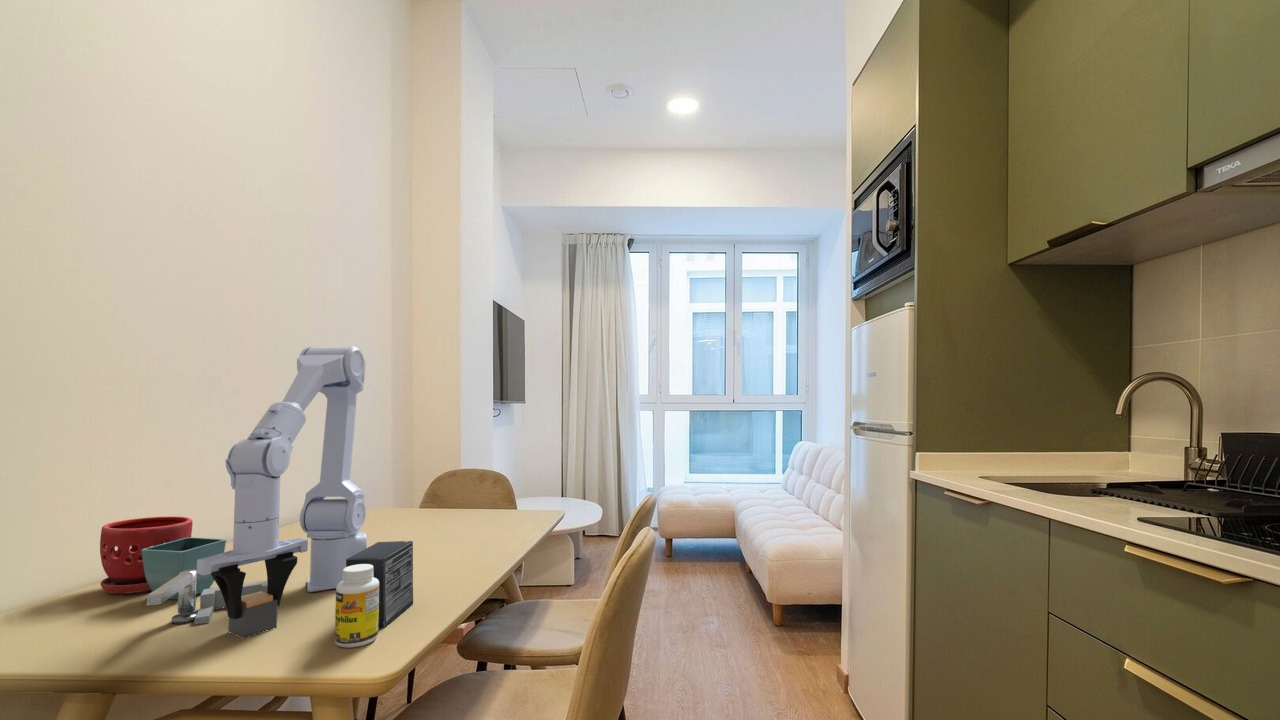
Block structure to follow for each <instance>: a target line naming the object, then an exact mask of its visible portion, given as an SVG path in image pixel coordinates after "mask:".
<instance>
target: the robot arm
mask: <svg viewBox="0 0 1280 720" xmlns="http://www.w3.org/2000/svg"><path fill="white" fill-rule="evenodd" d="M296 370H297V374H296V376H295V378H294V379H293V381H292V383H291V385H290V386H289V389H288V390H287V392H286V394H285V396H284V398H283V399H282V402H281V401H280V402H274V403H273V404H271V405H269V407H268V409H267V410H266V412H265V413H264V414H263V416H262V417H261V419H260V420H259V421H258V422H257V424H256V426H255V427H254V429H253V430H252V431H251V433H250V434H249V435H248V437H247V439H242V440H239V441H238V442H237V443H235V444H233V446H231V448H230V450H229V452H228V454H227V458H226V459H225V469H226V471H227V473H228V475H229V477H230V487H231V488H232V490H234V511H233V513H234V516H233V538H232V540H233V541H232V542H233V543H232V545H233V546H232V549H231V550H228V551H224V553H221V554H217V555H214V556H210V557H207V558H202V559H198V560H197V574H200V575H207V574H211V576H212V577H213V579H214V580H215V581H214V583H216V584H217V587H219V589H220V591H221V593H222V595H223V598H224V601H225V604H226V608H225V609H226V612H227V617H228V619H229V618H232V619H238V618H240V615H241V595H242V588H243V584H245V578H246V575H247V573H246V572H245V571H242V570H241V568H240V567H241V566H245V565H249V564H253V563H257V562H263V561H264V563H265V569H266V570H265V571H266V580H267V581H268V585H267V594H270V595H273V599H275V600H277V608H278V607H279V606H280V603H281V599H282V596H283V593H284V590H285V587H286V584H287V582H288V580H289V578H290V576H291V574H292V572H293V570H294V569H295V567H296V566H297V564H298V559H299V558H298V556H296V555H294V554H297V553H300V554H301V553H305V552H308V551H309V550H308V548H309V547H308V546H309V542H308V541H309V540H308V539H307V538H309V539H310V567H309V569H310V570H309V578H307V580H306V581H307V582H306V583H307V585H306V586H307V588H306V589H307V592H308V593H315V592H321V591H326V590H327V591H328V590H333V589H336V587H337V585H338V584H339V583H340V582H342V581H343V580H342V579H343V578H342V576H343V569H344V568H346V559H347V558H349V557H351V556H353V555H355V554H357V553H359V552H361V551H362V550H364V549H366V548H368V545H367V534H366V532H364V531H363V532H361V531H360V530H361V528H362V527H363V525H364V523H365V520H366V515H367V512H366V511H367V510H366V505H365V492H364V491H363V490H362V488H360V487H358V486H357V485H356V484H355V483H353V482H352V481H351V472H352V462H353V460H352V459H353V449H354V440H355V439H354V437H355V426H356V425H355V424H356V415H357V413H356V412H357V401H358V394H359V393H360V392H363V391H364V385H365V378H366V377H365V376H366V360H365V357H364V354H363V353H362V351H361V349H359V347H357V346H352V345H351V346H348V347H346V346H345V347H343V346H342V347H312V346H307V347H305V348H303V349H302V350H301V352H300V354H299V356H298V358H296ZM318 393H321V394H323V395H324V396H325V398H326V409H325V412H326V413H325V421H324V422H325V423H324V432H323V433H324V435H323V445H322V455H321V465H320V476H319V482H318V483H316V485H314V486H313V487H312V488H311V489H309V490H308V491H307V492H306V493H305V497H304V502H303V505H302V508H301V510H300V513H299V524H300V527H301V529H302V531H303V532H304V533H305V534H306V538H305V537H304V538H303V537H299V538H293V539H286V540H279V538H280V536H279V535H280V506H281V505H280V504H281V503H280V499H281V497H280V496H281V494H280V493H281V476H282V475H283V474H284V473H285V472H286V471H287V470H288V468H289V467H290V466H289V465H290V463H291V454H292V452H293V448H294V447H293V442H294V441H295V440H296V439H297V436H298V435H299V433H300V432H301V430H302V428H303V426H304V425H305V424H306V420H307V418H306V414H305V410H306V409H307V407H308V406H309V405H310V403H312V401H313V400H314V399H315V397H316V396H317V395H318ZM332 497H333V499H332ZM335 497H336V498H335ZM337 497H338V498H337ZM339 497H340V498H339ZM325 498H327V499H325ZM329 498H331V499H329ZM334 498H335V499H334ZM359 531H360V532H359Z"/></svg>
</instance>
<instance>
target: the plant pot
mask: <svg viewBox="0 0 1280 720" xmlns="http://www.w3.org/2000/svg"><path fill="white" fill-rule="evenodd" d="M193 523H194V522H193V519H192V518H189V517H186V516H153V517H151V516H150V517H141V518H130V519H124V520H123V519H122V520H118V521H113V522H108V523H106V524H104V525H102V527H101V530H100V536H99V537H100V538H99V555H100V561H101V566H102V569H103V571H104V573H105V574H106V576H107V577H106V578H104V579H102V580H101V581H100V583H99V584H100V587H101V588H102V590H104V592H107V593H110V594H117V595H129V594H139V593H145V592H146V593H147V592H152V590H151V588H150V587H149V585H148V583H147V580H146V577H145V573H144V566H143V559H142V551H141V550H142V549H145V548H149V547H153V546H157V545H160V544H164V543H168V542H172V541H176V540H179V539H183V538H188V537H192V533H193ZM116 547H117V550H116V549H115V548H116Z"/></svg>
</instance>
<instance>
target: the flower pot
mask: <svg viewBox="0 0 1280 720" xmlns="http://www.w3.org/2000/svg"><path fill="white" fill-rule="evenodd" d="M226 544H227V539H225V538H210V537H209V538H207V537H192V536H191V537H188V538H183V539H179V540H176V541H172V542H168V543H164V544H160V545H157V546H151V547H149V548H145V549H142V550H141V551H142V559H143V566H144V573H145V577H146V580H147V583H148V585H149V587H150V588H151V592H153V591H155V590H156V589H158V588H159V587H161V586H162V585H164V584H165V583H167V582H168V581H170V580H172V579H173V578H175V577H176V576H178V575H179V572H182V571H185V570H197V560H198V559H202V558H207V557H210V556H214V555H217V554H221V553H224V552H226V551H225V549H226ZM214 583H215V580H214V579H213V577H212V576H211V574H207V575H200V574H197V577H196V595H199V594H202V592H203V590H204V589H209V588H211V586H212V585H214ZM168 600H176V601H178V592H177V593H176V594H174V595H173V596H172V597H170V598H169V599H168Z"/></svg>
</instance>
